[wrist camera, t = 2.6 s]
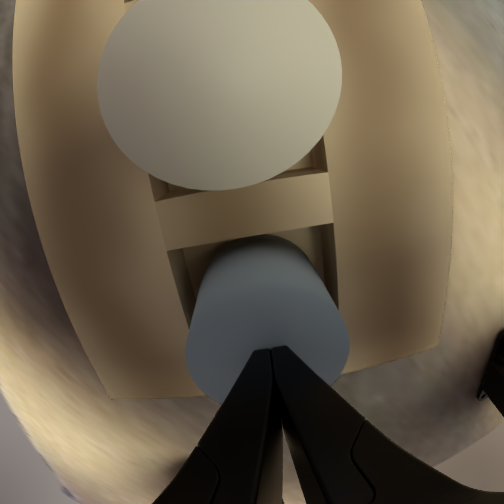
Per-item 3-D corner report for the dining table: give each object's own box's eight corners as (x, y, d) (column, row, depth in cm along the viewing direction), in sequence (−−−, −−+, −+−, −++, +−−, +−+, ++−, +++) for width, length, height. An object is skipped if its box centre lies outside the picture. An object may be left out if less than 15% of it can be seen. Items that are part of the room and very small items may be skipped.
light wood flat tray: (346, -80, 7) (365, -112, 4) (408, 312, 14) (437, 346, 11) (55, -28, 7) (25, -50, 4) (128, 358, 14) (111, 399, 11)
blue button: (310, 224, 10) (348, 270, 7) (320, 327, 12) (348, 397, 8) (189, 245, 11) (163, 300, 7) (215, 344, 12) (208, 419, 8)
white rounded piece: (285, 28, 7) (314, -38, 4) (308, 159, 9) (358, 171, 5) (146, 53, 7) (90, 4, 4) (168, 183, 9) (119, 212, 5)
